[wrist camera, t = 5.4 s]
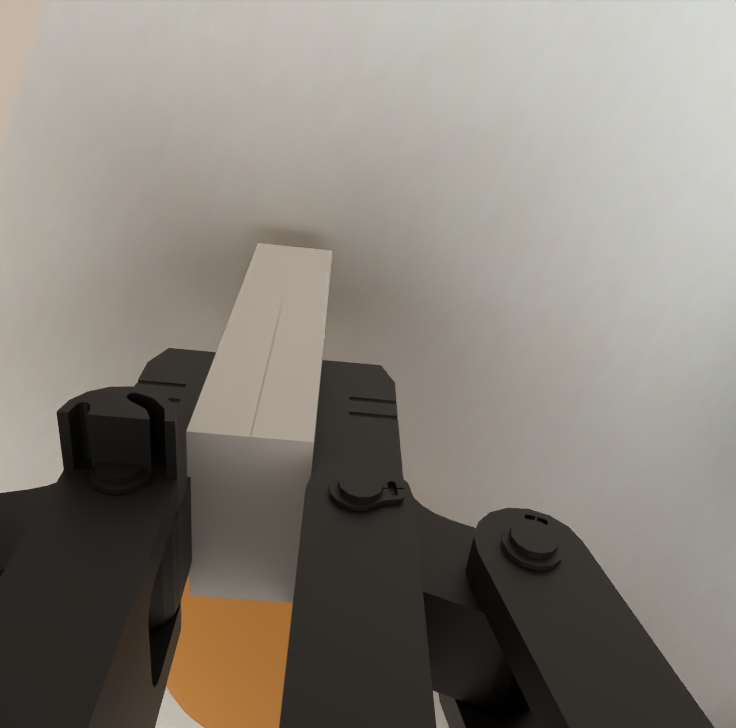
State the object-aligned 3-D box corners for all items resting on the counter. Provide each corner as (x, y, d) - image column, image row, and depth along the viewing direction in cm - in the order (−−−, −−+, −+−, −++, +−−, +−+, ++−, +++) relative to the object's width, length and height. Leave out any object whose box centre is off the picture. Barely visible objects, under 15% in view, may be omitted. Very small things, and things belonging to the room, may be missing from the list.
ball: (386, 471, 19) (396, 644, 14) (364, 613, 21) (366, 799, 16) (179, 454, 18) (115, 626, 13) (183, 601, 21) (131, 787, 16)
